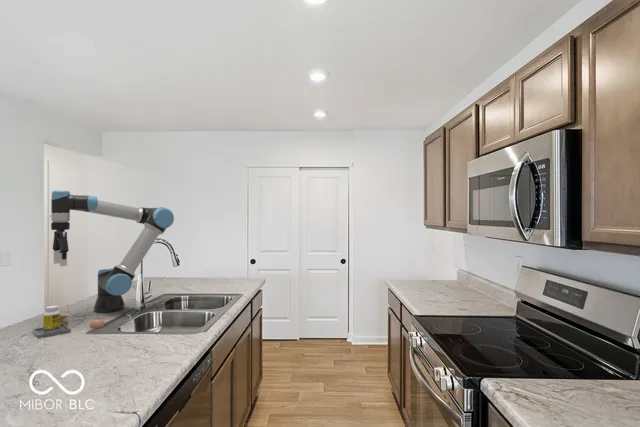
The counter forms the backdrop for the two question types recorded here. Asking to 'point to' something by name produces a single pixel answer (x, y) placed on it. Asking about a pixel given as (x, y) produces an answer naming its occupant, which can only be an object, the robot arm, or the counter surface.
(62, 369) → the counter surface
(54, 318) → the pill bottle
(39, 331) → the slate tray
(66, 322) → the cork block
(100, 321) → the brown egg
